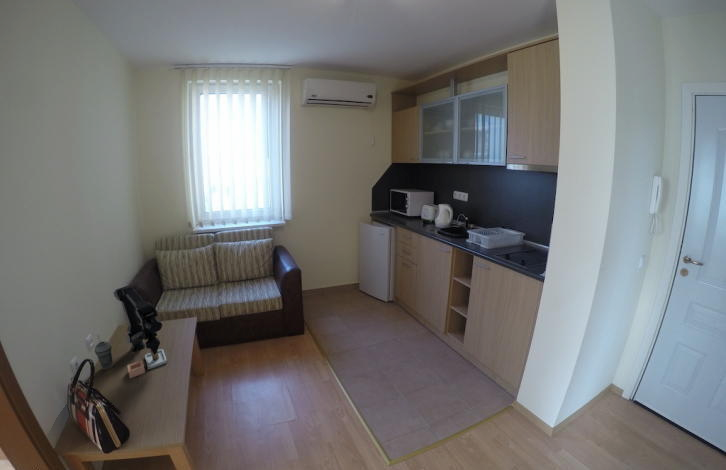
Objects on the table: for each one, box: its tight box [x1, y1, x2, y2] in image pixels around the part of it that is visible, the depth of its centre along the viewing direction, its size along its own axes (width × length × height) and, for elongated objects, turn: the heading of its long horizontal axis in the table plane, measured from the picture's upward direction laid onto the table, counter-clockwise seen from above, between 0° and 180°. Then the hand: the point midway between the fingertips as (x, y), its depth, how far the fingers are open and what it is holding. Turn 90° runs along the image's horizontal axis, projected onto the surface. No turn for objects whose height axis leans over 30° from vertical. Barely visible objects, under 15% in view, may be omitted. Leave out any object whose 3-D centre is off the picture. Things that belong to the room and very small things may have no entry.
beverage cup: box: [94, 334, 114, 370], centre depth 172 cm, size 7×7×20 cm
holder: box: [127, 359, 146, 379], centre depth 169 cm, size 7×7×4 cm
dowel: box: [149, 348, 159, 361], centre depth 178 cm, size 3×3×10 cm
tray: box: [144, 348, 168, 370], centre depth 179 cm, size 14×9×2 cm, turn 40°
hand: (153, 350), depth 178 cm, fingers open, 9 cm apart
